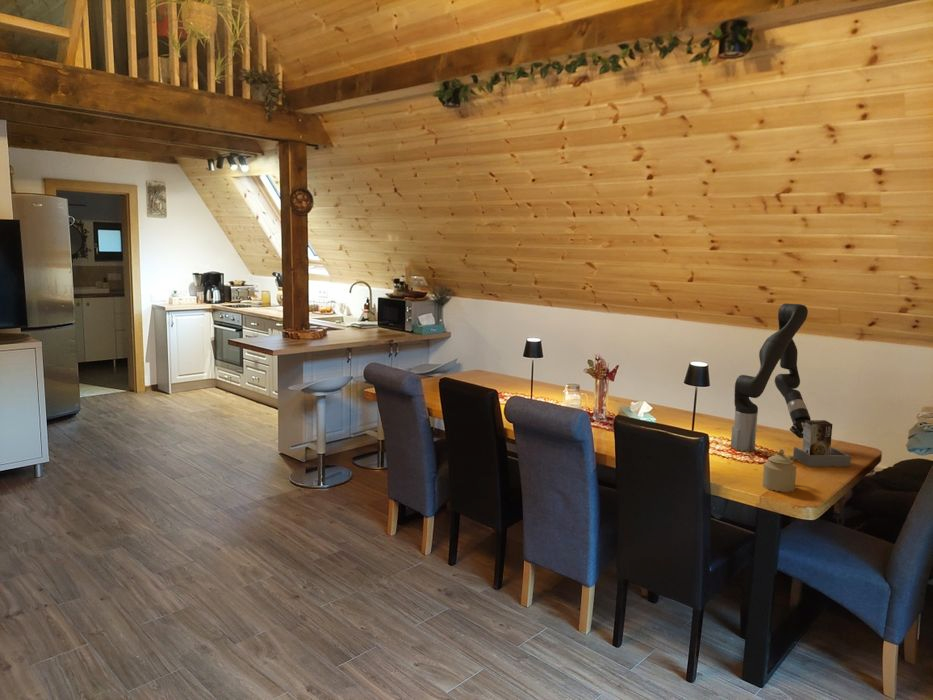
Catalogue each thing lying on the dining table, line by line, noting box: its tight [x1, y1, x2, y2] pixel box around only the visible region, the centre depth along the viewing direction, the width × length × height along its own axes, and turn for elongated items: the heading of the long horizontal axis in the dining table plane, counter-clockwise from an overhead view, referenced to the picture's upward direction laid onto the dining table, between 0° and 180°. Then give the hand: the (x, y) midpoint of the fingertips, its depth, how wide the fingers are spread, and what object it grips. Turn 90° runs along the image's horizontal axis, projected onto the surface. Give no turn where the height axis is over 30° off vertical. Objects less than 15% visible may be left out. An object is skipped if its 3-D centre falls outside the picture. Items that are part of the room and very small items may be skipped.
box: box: [792, 446, 852, 467], centre depth 280 cm, size 17×12×4 cm
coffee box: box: [801, 419, 833, 455], centre depth 284 cm, size 9×6×16 cm
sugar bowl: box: [762, 448, 797, 493], centre depth 250 cm, size 15×11×15 cm
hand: (810, 446), depth 288 cm, fingers closed
